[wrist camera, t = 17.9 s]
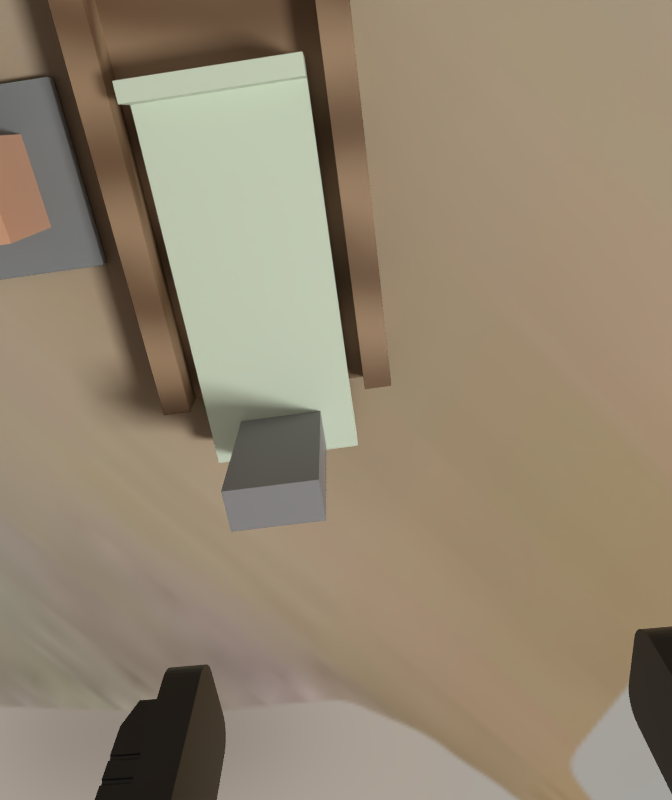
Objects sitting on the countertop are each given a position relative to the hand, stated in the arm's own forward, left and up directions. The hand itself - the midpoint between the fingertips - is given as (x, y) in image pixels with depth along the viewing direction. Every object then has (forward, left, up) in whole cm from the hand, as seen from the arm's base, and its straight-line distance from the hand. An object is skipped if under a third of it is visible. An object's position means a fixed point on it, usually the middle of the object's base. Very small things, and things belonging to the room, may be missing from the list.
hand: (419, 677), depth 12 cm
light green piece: (-2, -6, -28) cm, 28 cm away
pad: (-9, -20, -29) cm, 36 cm away
